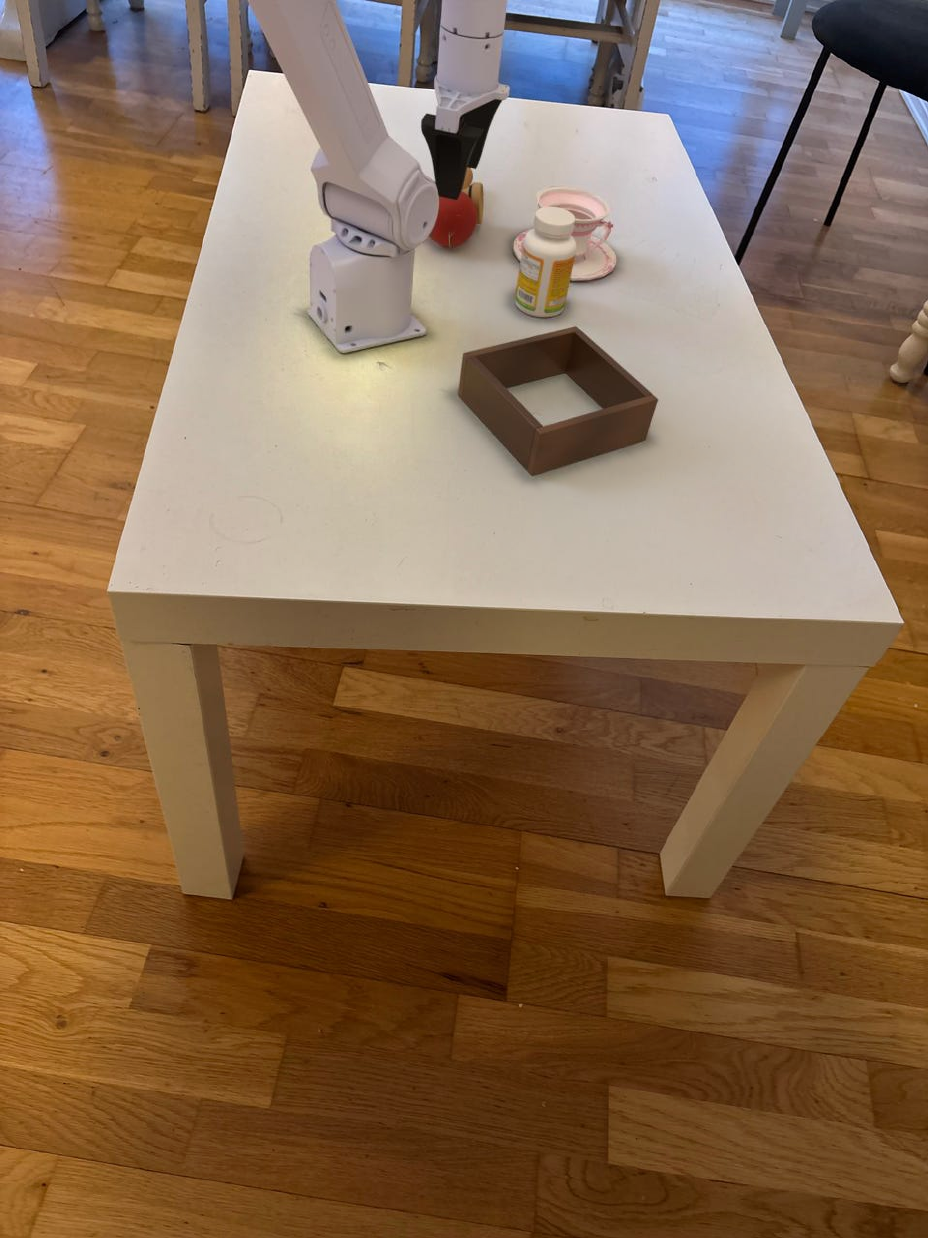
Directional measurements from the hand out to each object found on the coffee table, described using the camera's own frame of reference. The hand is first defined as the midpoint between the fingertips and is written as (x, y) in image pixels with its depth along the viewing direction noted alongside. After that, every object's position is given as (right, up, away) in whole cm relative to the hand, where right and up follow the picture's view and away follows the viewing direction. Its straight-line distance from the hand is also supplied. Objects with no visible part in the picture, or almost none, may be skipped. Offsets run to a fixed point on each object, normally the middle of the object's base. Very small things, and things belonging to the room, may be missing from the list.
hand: (457, 180), depth 92 cm
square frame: (+9, -26, -8) cm, 28 cm away
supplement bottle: (+9, -11, +5) cm, 15 cm away
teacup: (+12, -3, +13) cm, 18 cm away
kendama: (-1, +3, +16) cm, 16 cm away
